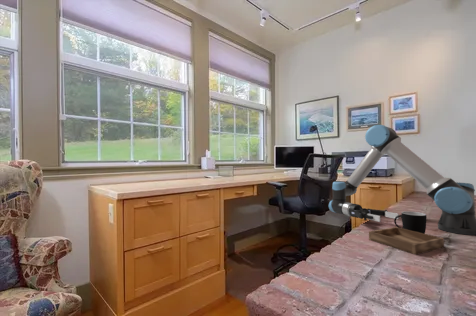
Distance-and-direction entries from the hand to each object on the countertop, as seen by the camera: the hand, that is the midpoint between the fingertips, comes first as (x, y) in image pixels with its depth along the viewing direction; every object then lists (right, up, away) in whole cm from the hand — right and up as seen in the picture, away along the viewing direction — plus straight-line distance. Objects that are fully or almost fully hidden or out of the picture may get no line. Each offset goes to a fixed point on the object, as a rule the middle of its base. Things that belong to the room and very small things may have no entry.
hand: (389, 217), depth 113 cm
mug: (+4, -6, -9) cm, 11 cm away
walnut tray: (-7, -5, -20) cm, 21 cm away
